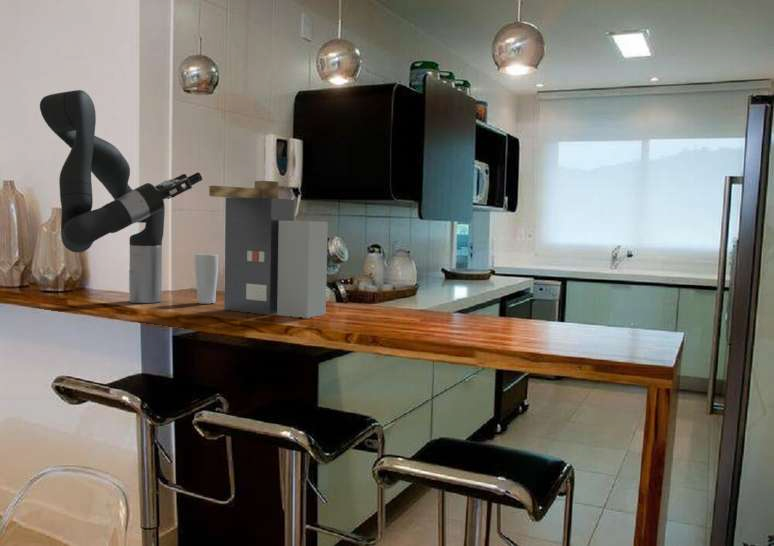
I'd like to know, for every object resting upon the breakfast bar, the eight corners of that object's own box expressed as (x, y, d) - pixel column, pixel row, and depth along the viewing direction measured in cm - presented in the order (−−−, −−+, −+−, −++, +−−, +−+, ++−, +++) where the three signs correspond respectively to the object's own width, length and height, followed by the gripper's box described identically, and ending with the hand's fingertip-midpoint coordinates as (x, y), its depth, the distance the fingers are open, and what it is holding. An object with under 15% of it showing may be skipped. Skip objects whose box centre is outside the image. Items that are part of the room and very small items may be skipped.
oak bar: (215, 196, 173) (215, 177, 173) (207, 196, 177) (207, 177, 177) (278, 199, 185) (278, 181, 184) (270, 199, 189) (270, 182, 188)
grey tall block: (277, 315, 178) (278, 220, 176) (296, 311, 186) (298, 220, 184) (307, 318, 173) (309, 221, 171) (325, 314, 181) (327, 221, 179)
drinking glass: (214, 304, 195) (214, 255, 193) (191, 304, 195) (192, 254, 194) (220, 302, 201) (220, 254, 200) (198, 301, 202) (199, 253, 200)
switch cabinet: (222, 310, 184) (223, 197, 181) (248, 306, 194) (249, 199, 191) (267, 315, 176) (269, 197, 174) (292, 311, 187) (294, 199, 184)
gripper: (143, 189, 155) (198, 161, 164) (122, 191, 166) (175, 164, 175) (157, 217, 158) (211, 188, 167) (136, 217, 169) (188, 190, 178)
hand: (193, 176), depth 171 cm, fingers open, 8 cm apart
